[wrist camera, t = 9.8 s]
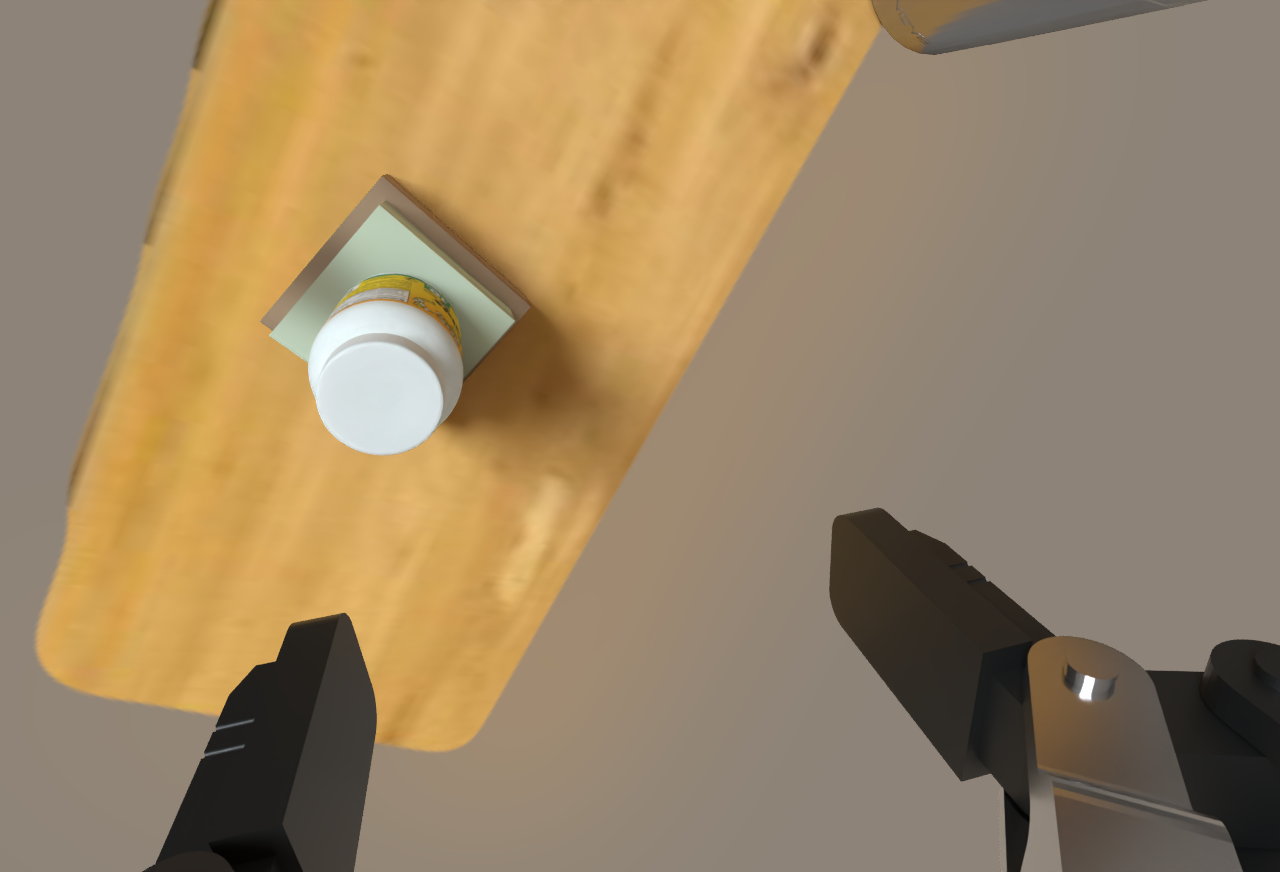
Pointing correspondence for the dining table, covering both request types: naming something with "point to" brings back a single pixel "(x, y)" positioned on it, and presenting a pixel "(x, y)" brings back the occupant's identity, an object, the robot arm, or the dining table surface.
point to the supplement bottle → (387, 364)
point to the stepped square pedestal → (406, 243)
